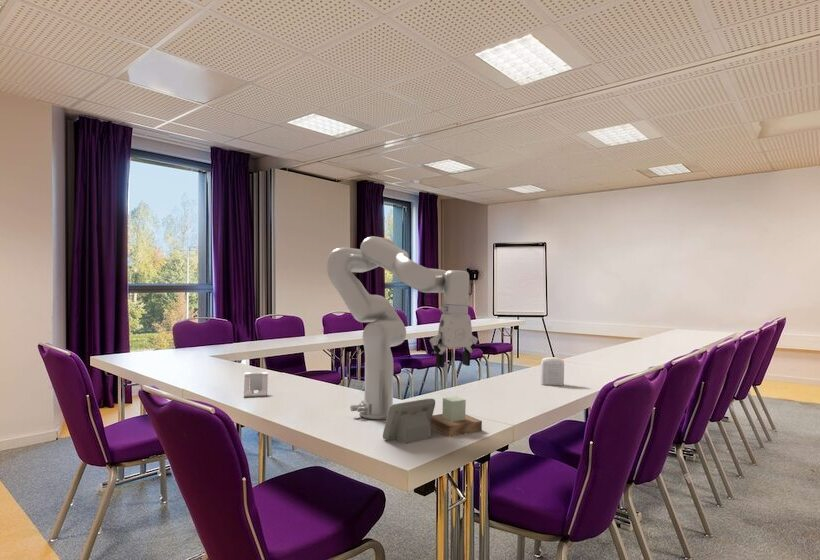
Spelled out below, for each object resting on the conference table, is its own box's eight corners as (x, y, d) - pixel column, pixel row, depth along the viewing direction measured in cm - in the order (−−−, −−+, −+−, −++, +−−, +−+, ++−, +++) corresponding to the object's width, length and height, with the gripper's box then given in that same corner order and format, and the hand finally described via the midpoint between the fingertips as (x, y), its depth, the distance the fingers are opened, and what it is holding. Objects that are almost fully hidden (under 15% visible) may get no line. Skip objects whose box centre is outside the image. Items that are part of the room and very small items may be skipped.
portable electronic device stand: (243, 397, 181) (244, 375, 181) (244, 393, 188) (245, 371, 188) (267, 396, 183) (267, 374, 183) (267, 392, 191) (267, 371, 191)
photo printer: (562, 384, 216) (562, 356, 217) (565, 386, 212) (565, 358, 212) (539, 383, 217) (539, 356, 217) (541, 385, 213) (542, 357, 213)
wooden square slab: (448, 436, 138) (449, 426, 138) (426, 425, 148) (427, 416, 148) (481, 431, 144) (481, 421, 144) (458, 420, 154) (458, 411, 154)
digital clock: (427, 430, 144) (428, 395, 144) (442, 439, 136) (442, 401, 136) (377, 436, 137) (378, 399, 137) (389, 446, 129) (390, 407, 129)
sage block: (451, 421, 143) (452, 401, 143) (442, 417, 147) (442, 398, 147) (465, 419, 145) (465, 399, 145) (455, 415, 149) (456, 396, 150)
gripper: (438, 311, 139) (436, 369, 139) (485, 311, 148) (483, 366, 148) (425, 309, 145) (422, 365, 145) (470, 309, 154) (468, 362, 154)
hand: (453, 365), depth 147 cm, fingers open, 9 cm apart
